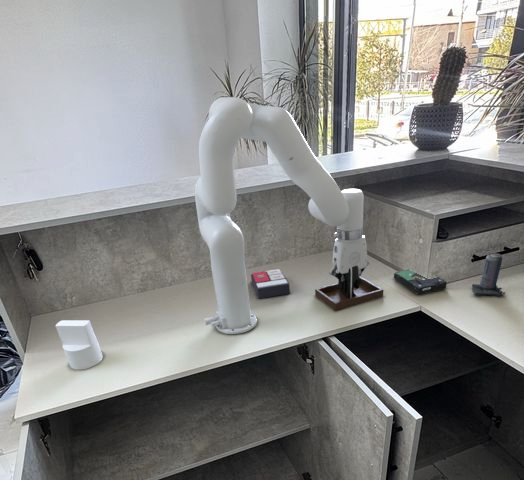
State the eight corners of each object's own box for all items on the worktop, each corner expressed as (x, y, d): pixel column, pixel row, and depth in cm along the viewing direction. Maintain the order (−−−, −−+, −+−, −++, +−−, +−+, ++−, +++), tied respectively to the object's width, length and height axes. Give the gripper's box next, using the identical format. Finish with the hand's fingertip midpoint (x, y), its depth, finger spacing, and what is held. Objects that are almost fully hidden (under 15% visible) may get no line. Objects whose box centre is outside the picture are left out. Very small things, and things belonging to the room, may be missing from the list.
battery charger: (359, 297, 138) (360, 263, 132) (348, 300, 138) (348, 266, 132) (349, 289, 144) (350, 256, 138) (339, 291, 144) (339, 258, 137)
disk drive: (446, 289, 139) (419, 272, 151) (447, 281, 138) (420, 265, 150) (418, 296, 137) (392, 278, 149) (419, 288, 136) (393, 271, 148)
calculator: (280, 267, 157) (289, 281, 144) (281, 278, 160) (290, 293, 147) (250, 272, 156) (256, 286, 143) (251, 283, 159) (258, 298, 146)
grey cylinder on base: (495, 286, 138) (502, 249, 132) (505, 296, 132) (514, 258, 125) (465, 288, 139) (471, 252, 132) (475, 298, 132) (482, 261, 126)
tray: (335, 311, 134) (335, 303, 132) (315, 296, 144) (315, 289, 142) (383, 296, 139) (383, 289, 137) (360, 283, 149) (360, 276, 147)
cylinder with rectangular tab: (108, 351, 126) (95, 315, 119) (93, 369, 118) (79, 331, 112) (80, 351, 127) (66, 315, 121) (63, 369, 120) (48, 331, 113)
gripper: (332, 242, 125) (332, 300, 134) (380, 230, 129) (377, 286, 139) (318, 236, 131) (320, 291, 140) (366, 224, 135) (364, 279, 145)
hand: (348, 288), depth 140 cm, fingers open, 4 cm apart
